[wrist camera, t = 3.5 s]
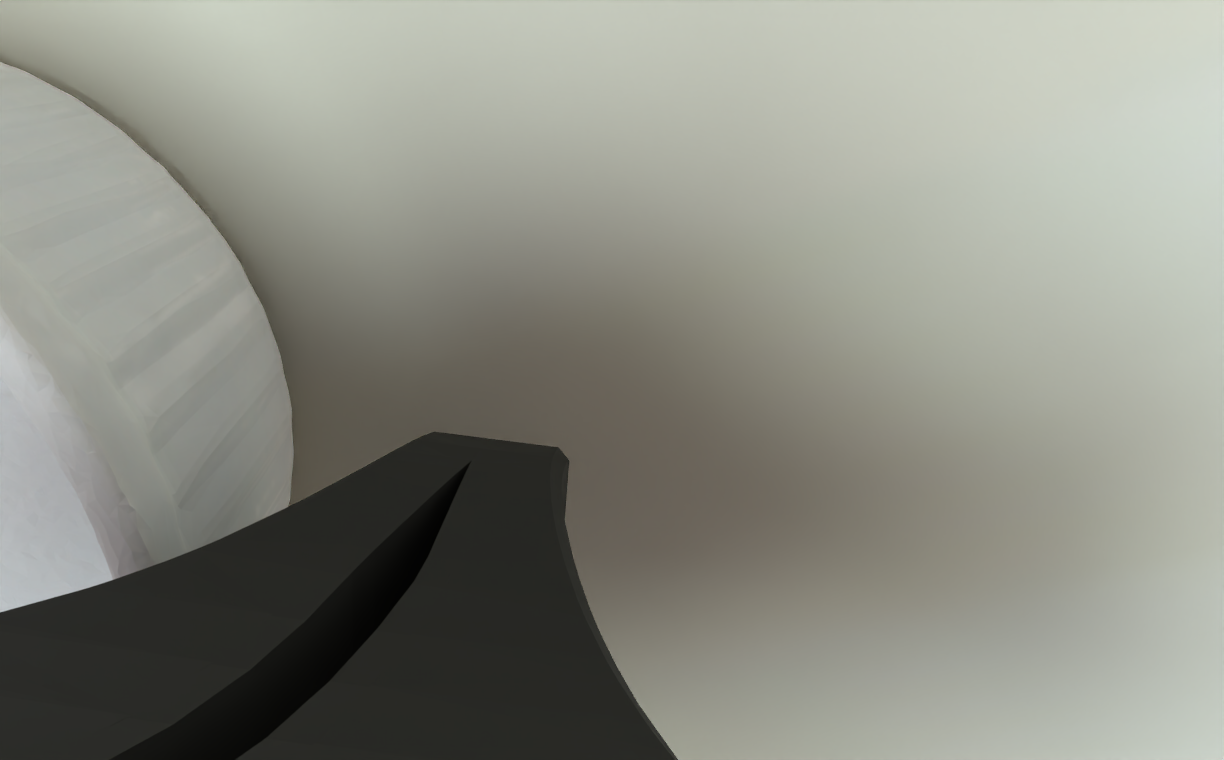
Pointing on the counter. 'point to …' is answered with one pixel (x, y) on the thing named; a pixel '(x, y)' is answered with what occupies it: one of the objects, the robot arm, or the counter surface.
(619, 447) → the counter surface
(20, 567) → the ramekin
